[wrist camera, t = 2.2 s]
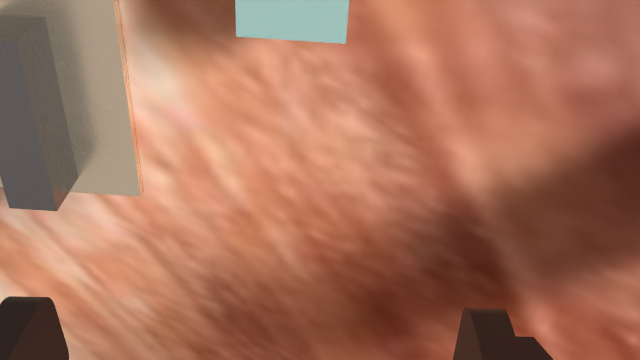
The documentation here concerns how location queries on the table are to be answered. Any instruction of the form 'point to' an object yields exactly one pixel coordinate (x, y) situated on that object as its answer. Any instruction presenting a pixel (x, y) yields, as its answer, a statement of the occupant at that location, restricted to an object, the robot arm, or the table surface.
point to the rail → (64, 103)
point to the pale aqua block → (293, 19)
